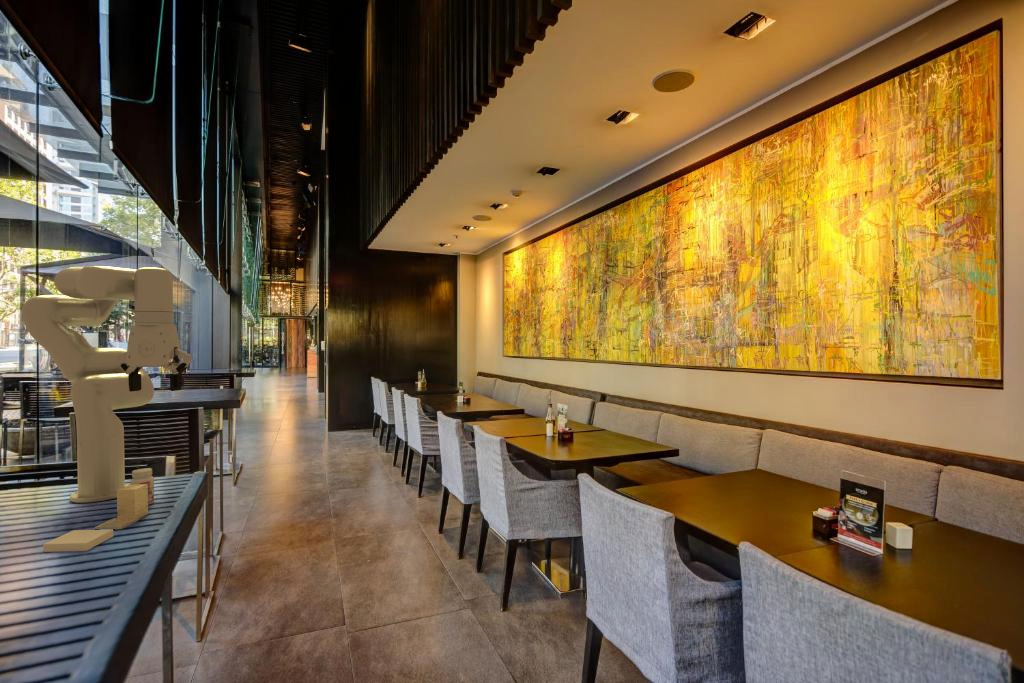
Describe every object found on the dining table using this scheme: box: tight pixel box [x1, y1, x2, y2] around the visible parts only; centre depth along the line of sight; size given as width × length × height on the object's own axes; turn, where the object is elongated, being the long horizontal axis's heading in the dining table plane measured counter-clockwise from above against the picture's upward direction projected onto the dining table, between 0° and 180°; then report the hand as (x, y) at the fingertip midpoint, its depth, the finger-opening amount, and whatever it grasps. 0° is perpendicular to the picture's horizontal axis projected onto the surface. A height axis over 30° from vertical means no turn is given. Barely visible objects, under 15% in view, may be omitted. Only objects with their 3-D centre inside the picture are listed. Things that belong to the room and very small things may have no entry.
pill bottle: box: [129, 467, 155, 506], centre depth 124 cm, size 5×5×8 cm
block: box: [42, 529, 114, 553], centre depth 100 cm, size 2×8×7 cm
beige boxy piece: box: [94, 483, 149, 530], centre depth 112 cm, size 9×6×7 cm, turn 0°
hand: (155, 390), depth 121 cm, fingers open, 9 cm apart
